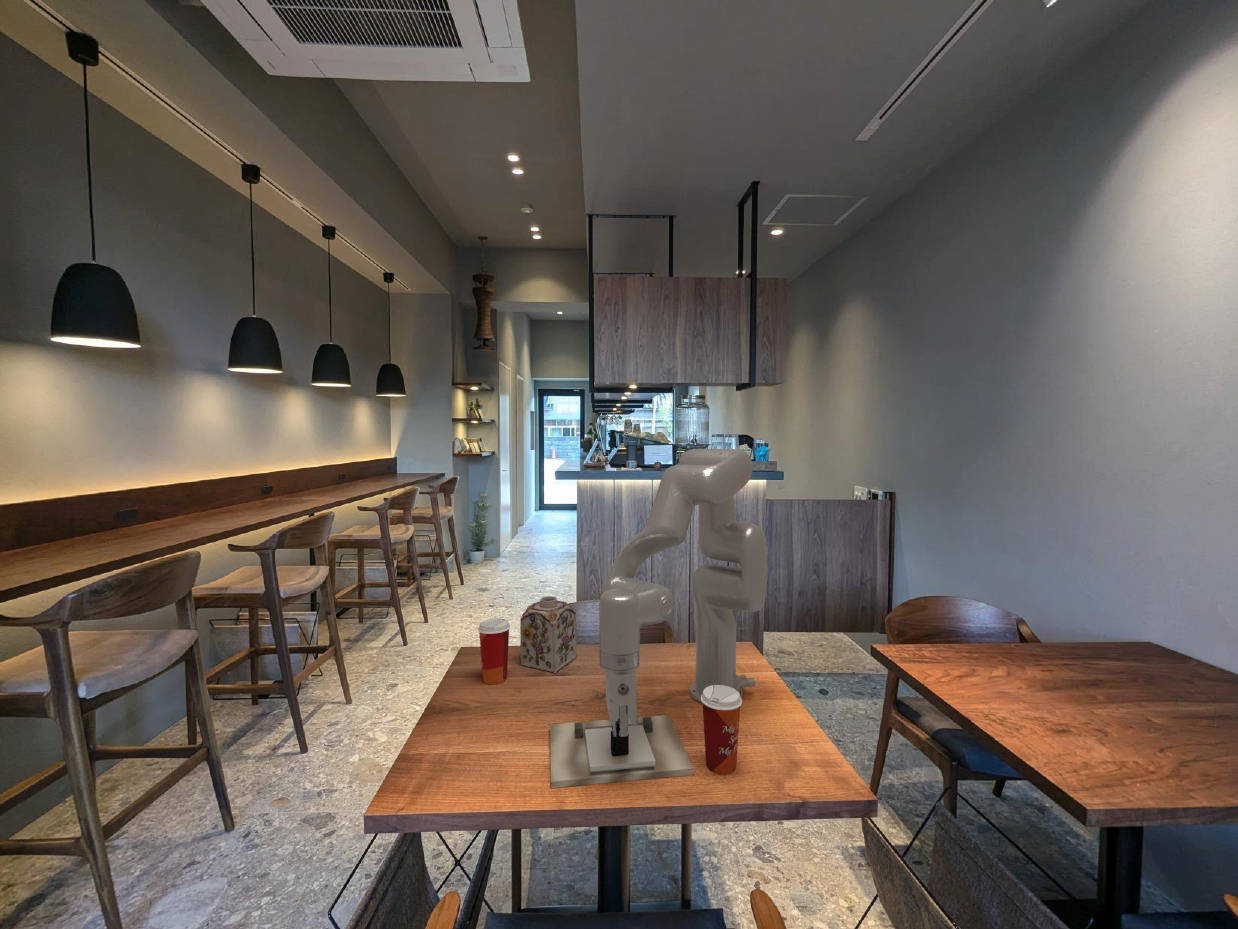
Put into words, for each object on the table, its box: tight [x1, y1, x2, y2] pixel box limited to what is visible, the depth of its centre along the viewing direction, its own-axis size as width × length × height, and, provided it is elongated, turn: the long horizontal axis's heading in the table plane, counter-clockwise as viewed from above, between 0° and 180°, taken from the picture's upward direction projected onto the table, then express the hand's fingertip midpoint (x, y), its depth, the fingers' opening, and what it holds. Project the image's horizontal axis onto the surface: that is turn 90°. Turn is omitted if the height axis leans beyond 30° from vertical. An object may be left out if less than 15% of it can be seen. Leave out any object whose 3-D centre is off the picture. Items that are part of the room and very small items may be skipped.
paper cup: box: [701, 685, 743, 775], centre depth 98 cm, size 8×8×14 cm
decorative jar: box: [519, 595, 578, 674], centre depth 145 cm, size 12×12×18 cm
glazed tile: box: [584, 723, 655, 772], centre depth 101 cm, size 12×1×14 cm
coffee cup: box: [477, 617, 512, 686], centre depth 134 cm, size 8×8×15 cm
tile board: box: [549, 714, 694, 789], centre depth 103 cm, size 26×19×3 cm
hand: (619, 753), depth 98 cm, fingers closed
